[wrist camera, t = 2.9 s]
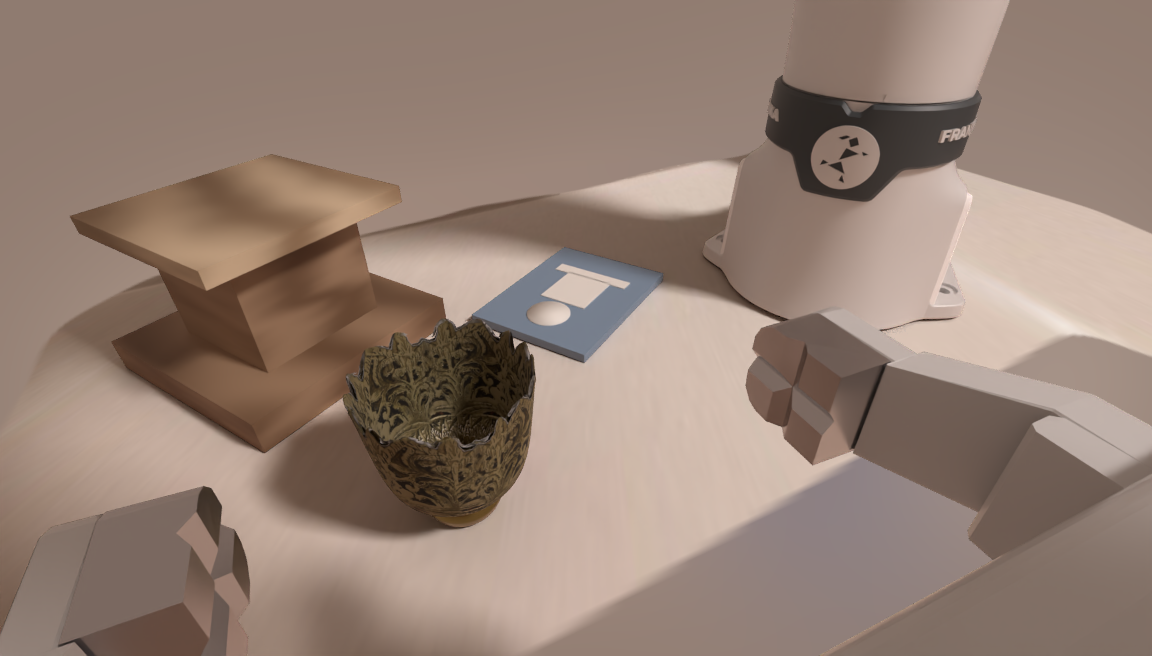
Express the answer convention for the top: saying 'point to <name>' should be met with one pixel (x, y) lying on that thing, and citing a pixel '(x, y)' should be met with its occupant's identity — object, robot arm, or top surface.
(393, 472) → the cup
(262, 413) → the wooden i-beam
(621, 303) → the board
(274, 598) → the top surface
